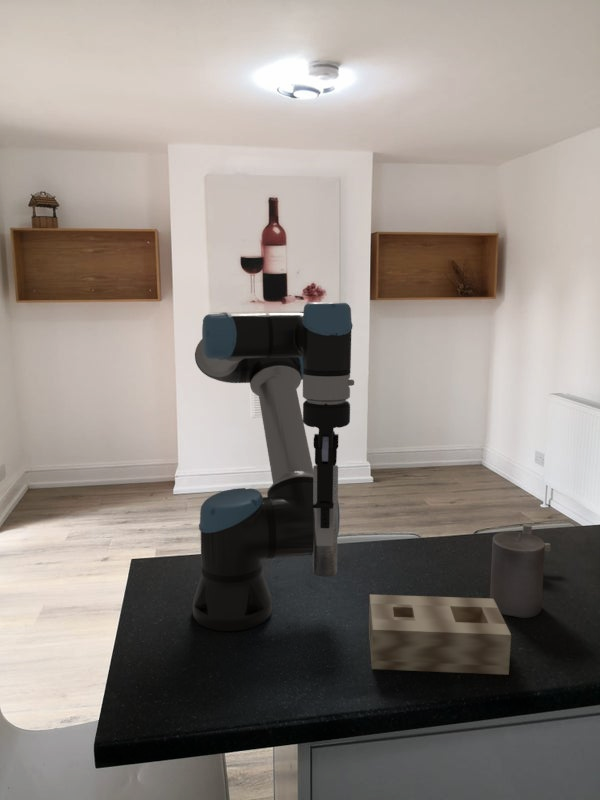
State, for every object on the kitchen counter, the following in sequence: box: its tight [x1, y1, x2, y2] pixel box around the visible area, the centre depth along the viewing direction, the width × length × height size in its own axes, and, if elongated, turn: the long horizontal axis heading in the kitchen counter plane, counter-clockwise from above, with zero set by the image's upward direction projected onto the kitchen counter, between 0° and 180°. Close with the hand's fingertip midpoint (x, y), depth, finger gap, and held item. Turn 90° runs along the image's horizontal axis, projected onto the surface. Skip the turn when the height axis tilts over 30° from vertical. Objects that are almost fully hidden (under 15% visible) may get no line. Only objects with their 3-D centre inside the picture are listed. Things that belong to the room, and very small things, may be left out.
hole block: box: [368, 594, 512, 676], centre depth 108 cm, size 22×12×7 cm, turn 86°
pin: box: [312, 464, 339, 578], centre depth 103 cm, size 4×4×18 cm
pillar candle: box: [489, 530, 545, 619], centre depth 122 cm, size 10×10×15 cm
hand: (325, 539), depth 104 cm, fingers closed on pin, 4 cm apart
